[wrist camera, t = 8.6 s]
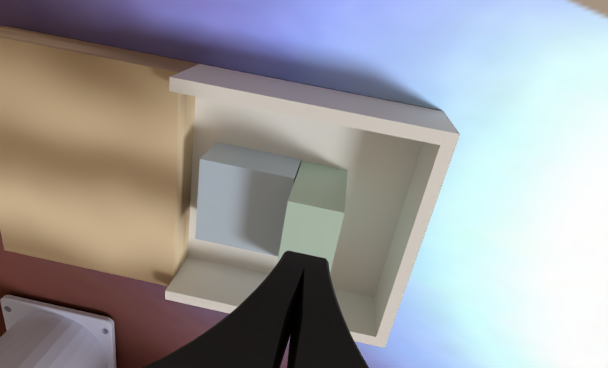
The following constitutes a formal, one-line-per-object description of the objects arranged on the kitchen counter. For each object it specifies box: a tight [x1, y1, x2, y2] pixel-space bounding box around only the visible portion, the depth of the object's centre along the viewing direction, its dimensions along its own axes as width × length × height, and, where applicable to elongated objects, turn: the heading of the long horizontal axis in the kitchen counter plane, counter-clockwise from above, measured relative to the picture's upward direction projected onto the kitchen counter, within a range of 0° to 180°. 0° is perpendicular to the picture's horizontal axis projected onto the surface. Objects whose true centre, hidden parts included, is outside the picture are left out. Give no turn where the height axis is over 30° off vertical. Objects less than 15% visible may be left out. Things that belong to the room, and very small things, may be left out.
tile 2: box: [195, 142, 301, 256], centre depth 21 cm, size 4×4×2 cm
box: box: [165, 64, 460, 348], centre depth 21 cm, size 12×12×4 cm
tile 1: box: [277, 161, 348, 271], centre depth 20 cm, size 4×4×2 cm
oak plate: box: [0, 26, 198, 286], centre depth 22 cm, size 12×10×2 cm
